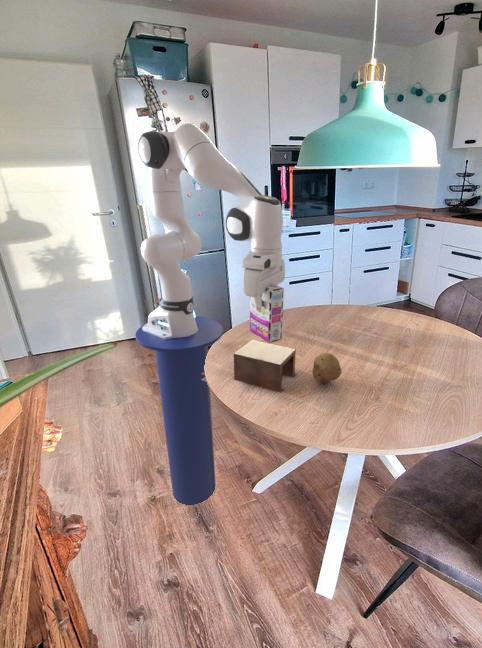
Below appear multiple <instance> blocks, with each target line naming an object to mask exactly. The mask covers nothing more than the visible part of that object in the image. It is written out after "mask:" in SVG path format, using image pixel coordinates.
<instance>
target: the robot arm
mask: <svg viewBox="0 0 482 648" xmlns="http://www.w3.org/2000/svg"><path fill="white" fill-rule="evenodd" d="M137 149H138V155H139V158H140V160H141V161H142V163H143V164H144V165H145V167H147V186H148V195H149V202H150V208H151V213H152V215H153V217H154V218H155V219H156V220H157V221H159V222H161V224H162V226H163V228H164V231H165V232H164V233H156V234H153V235H151V236H149V237H147V238H146V239H145V238H144V240H143V241H142V242H141V245H140V254H141V257H142V259H143V260H144V262H145V263H147V264H148V265H149V266H151V267H152V268H153V269H154V270H155V272H156V275H157V277H158V278H159V282H160V288H161V297H160V298H158V299H157V303H159V306H158V307H156V308H155V309H154V310H152V311H151V312H150V313H149V315H148V317H147V324H146V323H145V324H146V325H145V324H143V325H144V326H143V325H142V326H143V328H142V330H143V331H145V332H148V333H150V334H153V335H155V336H158V337H161V338H163V339H171V338H181V337H187V336H191V335H193V334H195V333H197V332H198V327H197V324H196V321H195V316H196V313H195V310H194V296H192V294H193V293H192V282H191V281H192V280H191V278H190V276H189V275H188V274H187V273H185V272H183V270H182V268H181V264H180V263H181V262H183V261H184V262H185V261H187V260H191V259H193V258H194V257H196V256H197V255H199V254H200V253H201V252H202V247H203V243H202V239H201V237H200V236H199V234H198V233H197V232H195V231H194V230H193V229H192V227H191V225H190V223H189V221H188V219H187V216H186V212H185V207H184V200H183V192H182V184H181V173H182V172H183V171H185V172H186V173H188V175H190V177H191V178H192V179H193V180H194V181H195V182H196V183H198V184H199V185H200V186H202V187H205V188H210V189H214V190H219V191H224V192H226V193H230V194H231V195H233V196H235V197H236V198H237V199H238V200H239V201H240V202H241V203H242V205H238V206H235V207H232V208H230V209H229V210H228V212H227V214H226V217H225V229H226V231H227V234H228V235H229V237H230V238H231V239H233V240H234V241H235V242H237V241H238V242H248V241H249V242H250V250H249V252H248V253H247V255H246V256H245V257H244V258H243V259H242V260H241V265H242V268H243V272H242V273H243V274H242V285H243V286H242V287H243V293H244V295H245V296H246V297H249V298H250V297H254V299H255V301H256V307H258V308H261V307H263V303H264V301H262V293H264V292H266V288H267V287H269V286H271V285H273V284H275V285H277V286H279V285H280V284H281V283H283V282H284V281H285V278H286V264H285V260H284V258H283V244H282V235H283V231H284V230H283V229H284V218H283V208H282V204H281V201H280V200H279V199H278V198H276V197H274V196H271V195H266V194H262V193H261V192H260V191H259V190H258V189H257V188H256V186H255V185H254V184H253V183H252V181H250V179H249V178H248V177H247V176H246V175H245V174H244V173H243V172H242V171H241V170H240V169H238V167H236V166H235V165H233V164H232V163H231V162H230V161H229V160H228V159H226V157H225V156H224V155H223V154H222V153H221V152H220V150H218V148H217V147H216V145H215V144H214V143H213V141H212V140H211V139H210V138H209V136H207V134H206V133H205V132H204V131H203V130H202V129H200V128H199V126H197V125H196V124H194V123H184V124H181V125H180V126H178V127H177V128H176V130H175V131H174V130H170V131H155V130H151V131H146V132H143V133H142V134H141V136H140V137H139V139H138V143H137Z"/></svg>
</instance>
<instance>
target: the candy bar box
mask: <svg viewBox="0 0 482 648" xmlns="http://www.w3.org/2000/svg"><path fill="white" fill-rule="evenodd" d="M284 292H285V288H284V287H281V286H279V285H275V284H273V285H271V286H269V287H267V288H266V292H264V293H262V301H264V303H263V307H261V308H258V307H256V301H255V299H254V297H250V296H249V331H250V332H251V333H252V334H254V335H255V336H257V337H259V338H260V339H262V340H264V342H266V343H270V344H272V343H274V342H278V341H281V340H282V338H283V337H282V336H283V335H282V334H283V315H284V314H283V312H284Z"/></svg>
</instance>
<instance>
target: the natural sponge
mask: <svg viewBox="0 0 482 648" xmlns="http://www.w3.org/2000/svg"><path fill="white" fill-rule="evenodd" d="M342 372H343V371H342V367H341V364H340V362H339V360H338V358H337V357H336V356H335V355H334V354H332V353H329V352H328V353H327V352H323V353H320V354H318V355H317V356H316V357H315V359H314V361H313V368H312V372H311V374H312V378H313V379H314V381H315V380H316V381H318V382H320V383H329V382H332V381H335V380H337V379H339V378H340V376H341V375H342Z"/></svg>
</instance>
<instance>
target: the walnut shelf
mask: <svg viewBox="0 0 482 648" xmlns="http://www.w3.org/2000/svg"><path fill="white" fill-rule="evenodd" d="M296 350H297V349H296V348H291V347H288V346H284V345H283V346H282V345H279V344H274V343H269V342H266V341H260V340H256V339H251V340H249V341H248V342H247V343H246V344H245V345H243V346H241V348H239V349H238V350H237V351H235V352H234V353H233V375H234V377H233V379H234V381H238V382H242V383H244V384H248V385H253V386H256V387H260V388H264V389H268V390H271V391H274V392H279V393H280V392H281V391H282V390H283V389H282V388H283V375H284V376H288V377H294V376H295V372H296Z"/></svg>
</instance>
